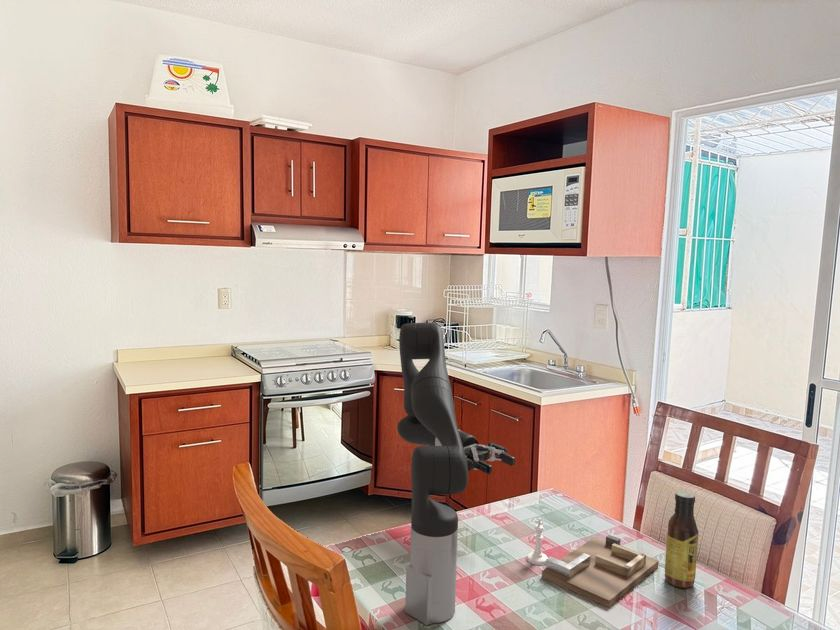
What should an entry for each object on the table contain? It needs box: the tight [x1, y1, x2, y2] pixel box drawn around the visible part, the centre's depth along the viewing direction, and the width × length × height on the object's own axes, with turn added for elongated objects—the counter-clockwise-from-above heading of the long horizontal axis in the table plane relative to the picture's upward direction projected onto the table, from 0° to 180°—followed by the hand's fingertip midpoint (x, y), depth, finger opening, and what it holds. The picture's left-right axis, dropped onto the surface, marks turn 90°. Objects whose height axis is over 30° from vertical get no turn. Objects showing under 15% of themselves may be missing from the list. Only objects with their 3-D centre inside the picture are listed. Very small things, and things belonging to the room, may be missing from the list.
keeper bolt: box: [545, 553, 591, 578], centre depth 135 cm, size 9×6×2 cm, turn 135°
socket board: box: [541, 534, 659, 608], centre depth 136 cm, size 24×16×4 cm, turn 135°
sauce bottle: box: [664, 490, 699, 589], centre depth 132 cm, size 7×6×20 cm
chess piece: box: [526, 517, 549, 566], centre depth 140 cm, size 5×5×10 cm
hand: (502, 466), depth 147 cm, fingers open, 8 cm apart
